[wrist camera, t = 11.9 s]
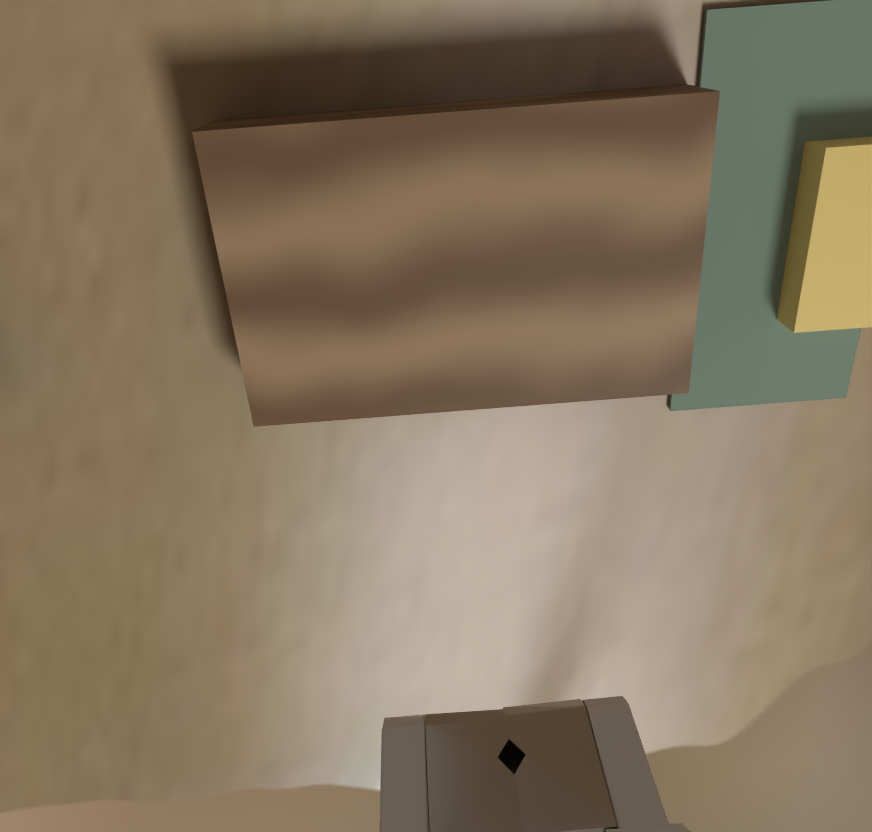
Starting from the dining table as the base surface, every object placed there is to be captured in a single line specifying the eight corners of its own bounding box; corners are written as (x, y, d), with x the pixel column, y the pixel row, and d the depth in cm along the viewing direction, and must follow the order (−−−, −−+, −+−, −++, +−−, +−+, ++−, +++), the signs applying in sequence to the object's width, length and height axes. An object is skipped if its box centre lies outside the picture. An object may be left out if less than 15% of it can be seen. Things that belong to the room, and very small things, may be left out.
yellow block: (957, 137, 33) (930, 132, 35) (826, 147, 33) (805, 141, 35) (910, 324, 38) (888, 310, 39) (793, 332, 38) (776, 319, 39)
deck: (214, 121, 34) (191, 131, 31) (687, 84, 34) (719, 91, 31) (267, 391, 41) (253, 426, 37) (664, 361, 41) (688, 393, 37)
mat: (705, 9, 33) (707, 9, 32) (929, -8, 33) (933, -8, 32) (668, 408, 42) (670, 411, 42) (843, 395, 42) (845, 397, 42)
